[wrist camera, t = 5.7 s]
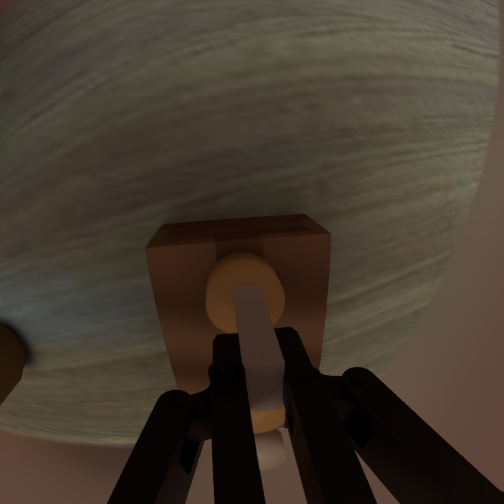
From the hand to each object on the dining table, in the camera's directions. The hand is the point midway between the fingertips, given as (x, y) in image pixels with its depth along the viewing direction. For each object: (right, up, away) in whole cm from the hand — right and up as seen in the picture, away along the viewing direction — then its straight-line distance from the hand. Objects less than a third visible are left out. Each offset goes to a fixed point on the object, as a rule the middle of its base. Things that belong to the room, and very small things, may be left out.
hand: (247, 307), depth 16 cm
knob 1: (-1, +3, +8) cm, 8 cm away
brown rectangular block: (-1, -4, +11) cm, 11 cm away
